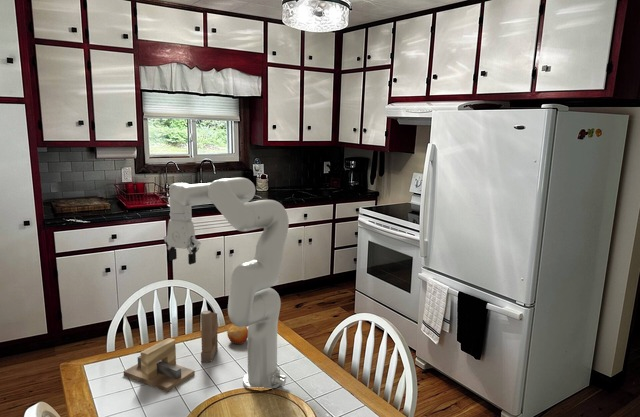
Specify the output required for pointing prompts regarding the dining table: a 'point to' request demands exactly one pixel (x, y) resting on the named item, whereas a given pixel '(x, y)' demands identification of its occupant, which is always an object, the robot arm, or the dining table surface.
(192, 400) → the dining table surface
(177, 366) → the rib board
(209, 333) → the wooden block
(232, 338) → the fruit
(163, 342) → the wooden bridge block
